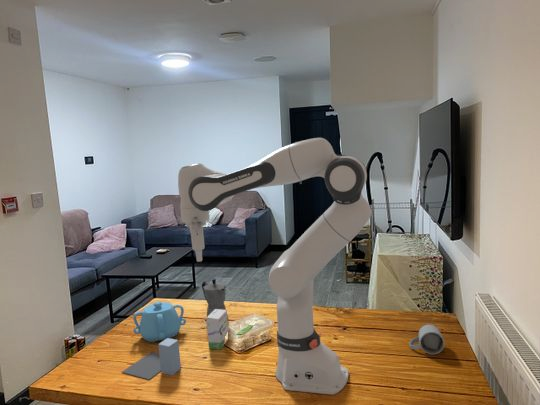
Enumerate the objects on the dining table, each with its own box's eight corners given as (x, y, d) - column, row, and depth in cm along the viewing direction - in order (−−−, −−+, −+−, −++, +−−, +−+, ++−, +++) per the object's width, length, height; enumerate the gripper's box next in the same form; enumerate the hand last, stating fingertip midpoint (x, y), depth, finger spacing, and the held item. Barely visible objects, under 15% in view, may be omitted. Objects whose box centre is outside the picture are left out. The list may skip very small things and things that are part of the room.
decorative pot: (163, 323, 173) (159, 292, 171) (190, 330, 164) (187, 298, 162) (131, 340, 160) (126, 306, 158) (159, 349, 151) (155, 313, 149)
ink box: (221, 350, 147) (218, 318, 145) (208, 348, 148) (205, 318, 147) (229, 338, 155) (227, 309, 153) (217, 337, 156) (215, 308, 155)
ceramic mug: (440, 343, 142) (439, 322, 141) (444, 355, 134) (444, 333, 133) (408, 342, 144) (407, 321, 143) (410, 354, 136) (409, 332, 135)
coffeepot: (236, 320, 170) (232, 279, 168) (218, 329, 164) (214, 285, 161) (213, 311, 181) (210, 272, 179) (196, 319, 175) (192, 278, 172)
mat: (177, 358, 143) (177, 357, 143) (149, 380, 131) (149, 379, 131) (151, 352, 148) (151, 351, 148) (121, 372, 136) (121, 371, 136)
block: (181, 368, 136) (178, 340, 135) (172, 375, 133) (169, 346, 131) (170, 365, 139) (167, 337, 137) (161, 372, 135) (158, 344, 133)
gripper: (206, 219, 121) (210, 264, 123) (203, 209, 141) (207, 248, 143) (185, 221, 120) (189, 267, 122) (185, 211, 140) (188, 250, 142)
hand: (199, 257), depth 133 cm, fingers open, 8 cm apart
